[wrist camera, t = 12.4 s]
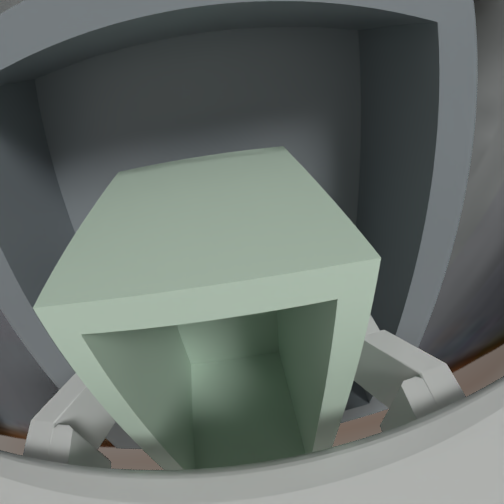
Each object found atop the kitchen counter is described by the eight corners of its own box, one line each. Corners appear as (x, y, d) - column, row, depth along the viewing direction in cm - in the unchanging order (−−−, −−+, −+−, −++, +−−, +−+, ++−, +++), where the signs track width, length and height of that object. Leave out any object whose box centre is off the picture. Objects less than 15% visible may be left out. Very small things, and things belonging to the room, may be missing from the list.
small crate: (283, 146, 9) (381, 257, 4) (289, 347, 14) (324, 467, 9) (118, 171, 9) (33, 307, 4) (181, 363, 14) (183, 487, 9)
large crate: (377, 3, 10) (471, -13, 5) (355, 337, 21) (388, 408, 16) (12, 58, 9) (-80, 72, 4) (126, 371, 20) (117, 448, 15)
